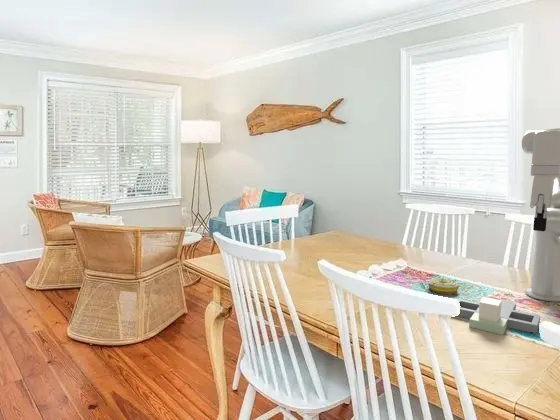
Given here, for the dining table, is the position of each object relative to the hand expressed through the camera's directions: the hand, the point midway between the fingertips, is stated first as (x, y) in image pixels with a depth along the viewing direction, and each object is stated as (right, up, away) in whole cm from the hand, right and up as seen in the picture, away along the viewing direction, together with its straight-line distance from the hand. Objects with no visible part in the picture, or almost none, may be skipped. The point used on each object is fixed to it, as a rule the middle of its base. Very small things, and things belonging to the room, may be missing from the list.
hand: (539, 230), depth 134 cm
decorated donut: (-20, -24, +26) cm, 41 cm away
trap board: (-14, -27, 0) cm, 31 cm away
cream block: (-18, -26, -6) cm, 32 cm away
